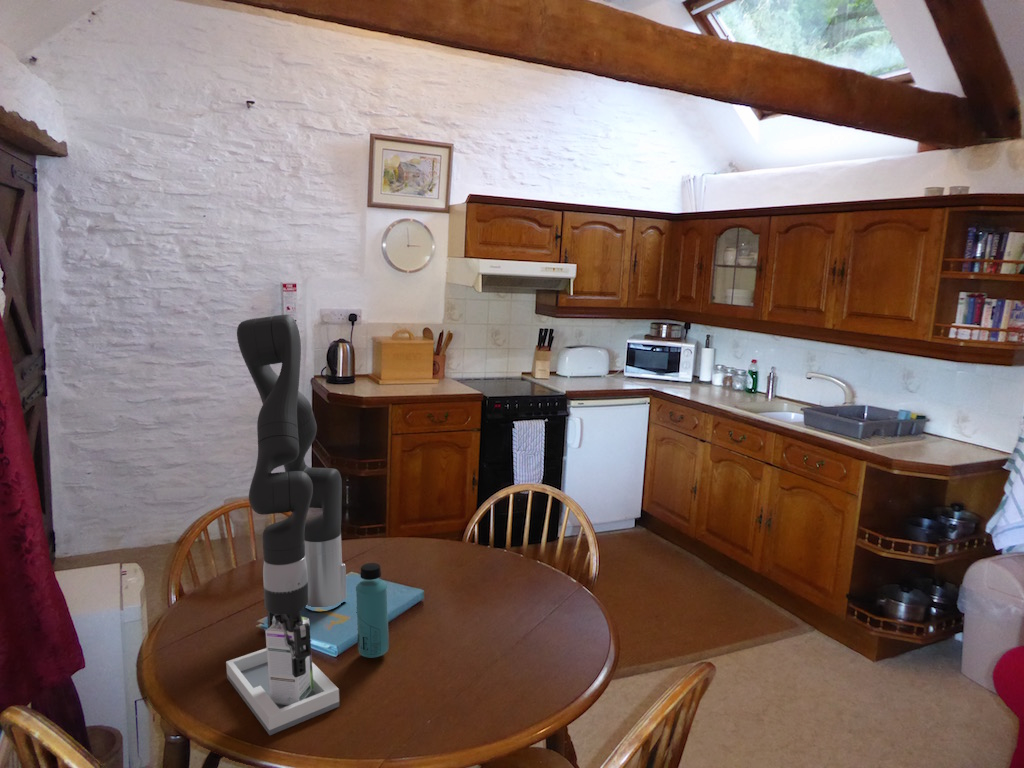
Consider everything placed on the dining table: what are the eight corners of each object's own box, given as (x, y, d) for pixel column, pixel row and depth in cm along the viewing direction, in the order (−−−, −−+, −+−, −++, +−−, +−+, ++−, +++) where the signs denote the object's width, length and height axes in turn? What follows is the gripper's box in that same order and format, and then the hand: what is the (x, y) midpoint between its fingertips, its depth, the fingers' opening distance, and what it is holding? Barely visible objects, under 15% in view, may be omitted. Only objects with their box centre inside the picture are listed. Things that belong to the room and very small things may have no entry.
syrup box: (299, 707, 128) (295, 632, 125) (269, 703, 129) (264, 628, 126) (314, 688, 133) (310, 616, 131) (285, 684, 134) (281, 613, 132)
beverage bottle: (395, 651, 150) (393, 561, 146) (379, 668, 143) (377, 574, 140) (367, 645, 152) (365, 556, 148) (351, 662, 145) (347, 569, 142)
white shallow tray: (291, 655, 148) (290, 639, 147) (339, 706, 131) (338, 688, 130) (227, 678, 140) (226, 661, 139) (269, 735, 123) (268, 717, 122)
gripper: (322, 589, 124) (326, 675, 127) (290, 562, 135) (294, 642, 138) (280, 602, 119) (285, 691, 122) (250, 573, 130) (255, 655, 133)
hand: (289, 664), depth 130 cm, fingers closed on syrup box, 7 cm apart
